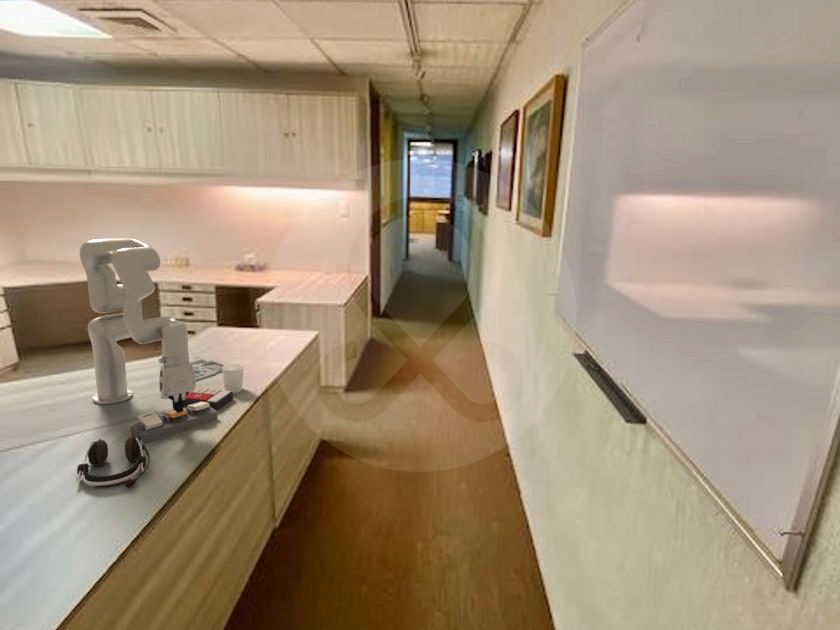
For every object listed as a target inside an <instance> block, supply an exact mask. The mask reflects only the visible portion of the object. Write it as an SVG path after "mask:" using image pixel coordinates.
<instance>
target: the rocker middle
mask: <svg viewBox="0 0 840 630" xmlns="http://www.w3.org/2000/svg"><path fill="white" fill-rule="evenodd" d="M185 409H186V408H183V412H180V413H178V412H176V411H175V410H173V409H172V410H168V411H167V410H166V411H165V412H163V415H164V414H166V415H167V416H169V418H175V417H178V416H181V415H184V414H187V411H186V410H185Z"/></svg>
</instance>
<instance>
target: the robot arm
mask: <svg viewBox="0 0 840 630" xmlns="http://www.w3.org/2000/svg"><path fill="white" fill-rule="evenodd" d="M79 259H80V263H81V264H82V267H83V269H84V271H85V274H86V281H87V287H88V288H87V290H88V297H89V304H90V307H91V310H92V311H93V312H95V313H98V314H99V313H100V314H105V313H112V312H113V313H114V312H118V311H122V312H120V313H114V314H109V315H103V316H98V317H95V318H94V319H91V320H90V321H89V322H88V324H87V332H88V337H89V339H90V342H91V347H92V353H93V354H92V355H93V361H94V362H93V364H94V371H95V372H94V373H95V383H96V393H95V394H94V395H92V401H93V403H95V404H99V405H111V404H112V405H113V404H119V403H122V402H125V401H127V400H129V399H131V398H132V397H133V391H132V390H131V389H129V388H128V384H127V383H128V381H127V380H128V379H127V369H126V368H127V367H126V357H125V350H124V349H123V348H122V346H121V345H119V344H118V343H117V341H121V340H124V339H125V340H126V339H129V338H131V339H132V340H133V341H134V342H136V344H140V345H146V344H149V343H154V342H155V343H156V342H159V341H161V353H162V355H161V358H158V360H157V361H158V363H159V364H161V365H160V367H159V368H160V369H159V381H158V382H159V383H158V385H159V386H158V388H159V392H160V396H159V397H160V399H162V400H167V399H168V400H171V401H172V410H175V411H176V412H178V413H180V412H183V409H185V406H184V400H185V398H186V396H187V395H188V393H191V392H192V391H194V390H195V389H196V388H197V385H196V384H197V383H196V382H197V381H195V374H194V369H193V365H192V362H191V361H190V360H189V359H190V358H189V357H190V356H189V339H188V338H189V336H188V325H187V324H186V323H185V322H184V321H179V320H177V319H176V318H175V317H173V316H169V315H166V316H165V315H164V316H160V317H159V316H158V317H154V318H153V317H152V318H148V319H144V318H143V309H142V308H143V306H142V300H144V299H146V298H147V297H149V296H150V295H152V293H154V291H155V289H156V285H155V283H154V282H153V279H152V278H151V275H150V273H149V272H154V271H157V270H158V269H160V267H161V258H160V256H159V254H158V252H157V250H155V249H154V248H153V247H152V246H150V245H149V244H146V243H143V242H142V241H139V240H138V239H135V238H129V237H128V238H127V237H126V238H98V239H92V240H86V241H85V242H83V243H82V244H81V245H80V247H79ZM111 264H112V266H113V268H112V267H111ZM115 272H116V273H115ZM116 274H117V276H118V278H119V281H120V282H121V283H119V284H117V276H116Z"/></svg>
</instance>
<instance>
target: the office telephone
mask: <svg viewBox="0 0 840 630" xmlns="http://www.w3.org/2000/svg"><path fill="white" fill-rule="evenodd" d="M189 360H190V361H191V362H192V365H193V369H194V374H195V381H196V382H198V381H201V380H204V379H207V378H211V377H213V376H216V375H218V374H220V373H223V370H222V367H223V366H224V365H226V364H225V363H222V362H219V361H217V360H213V359H212V360H208V361H207V359H204V358H203V357H201V356H197V357H194V358H193V357H192V358H189ZM213 364H214V365H216V366H217V365H218V366H220V367H221V368H218V369H214V368H213V367H209V366H208V365H213Z"/></svg>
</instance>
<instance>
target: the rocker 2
mask: <svg viewBox="0 0 840 630" xmlns="http://www.w3.org/2000/svg"><path fill="white" fill-rule="evenodd" d="M187 407H189V408H191V409H192V410H194V411H197V410H201V409H204V408H207V407H210V406H209V403H206V402H198V403H194V404H191V405H188V406H186V408H187Z"/></svg>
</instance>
